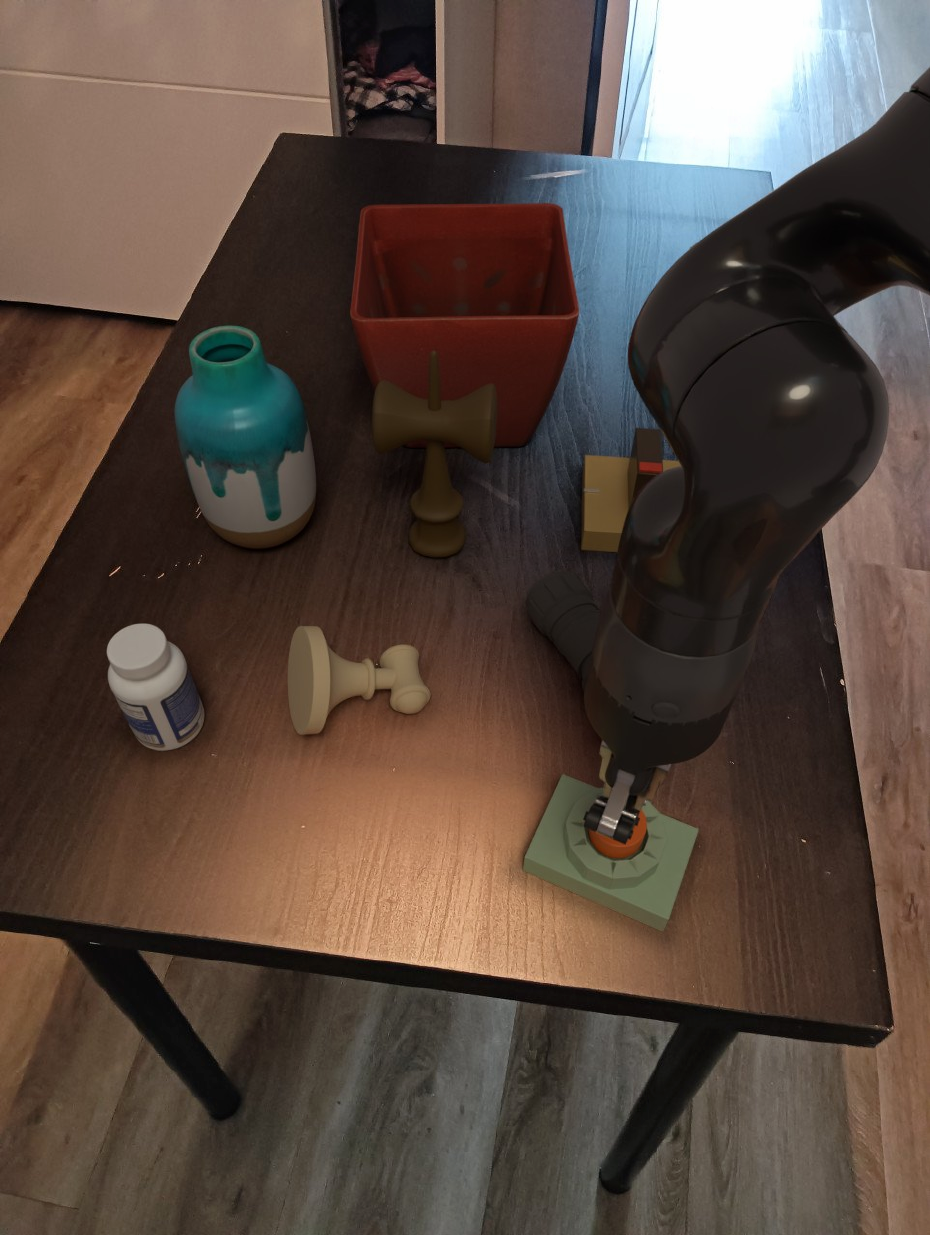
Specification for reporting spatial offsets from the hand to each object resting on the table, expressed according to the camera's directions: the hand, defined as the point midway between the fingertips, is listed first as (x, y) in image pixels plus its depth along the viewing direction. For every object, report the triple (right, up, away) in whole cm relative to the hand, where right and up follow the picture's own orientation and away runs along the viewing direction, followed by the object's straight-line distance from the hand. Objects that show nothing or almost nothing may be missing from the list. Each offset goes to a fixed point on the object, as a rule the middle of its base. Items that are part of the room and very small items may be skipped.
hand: (619, 815), depth 60 cm
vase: (-28, +21, +24) cm, 43 cm away
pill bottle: (-33, +5, +11) cm, 35 cm away
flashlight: (0, +8, +14) cm, 16 cm away
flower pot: (-10, +34, +35) cm, 50 cm away
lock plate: (+6, +22, +26) cm, 34 cm away
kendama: (-12, +19, +23) cm, 33 cm away
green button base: (0, -4, +4) cm, 6 cm away
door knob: (-18, +6, +12) cm, 23 cm away
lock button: (0, -2, +1) cm, 2 cm away
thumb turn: (+6, +24, +24) cm, 34 cm away
